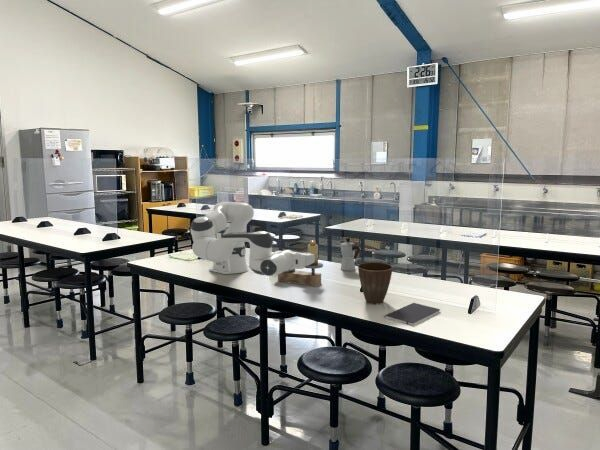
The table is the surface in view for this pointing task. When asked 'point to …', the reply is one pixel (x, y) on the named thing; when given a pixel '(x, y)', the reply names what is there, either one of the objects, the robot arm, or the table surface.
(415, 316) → the notebook
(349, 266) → the coffee maker
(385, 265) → the plant pot
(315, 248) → the brass weight
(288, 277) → the balance
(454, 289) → the table surface
